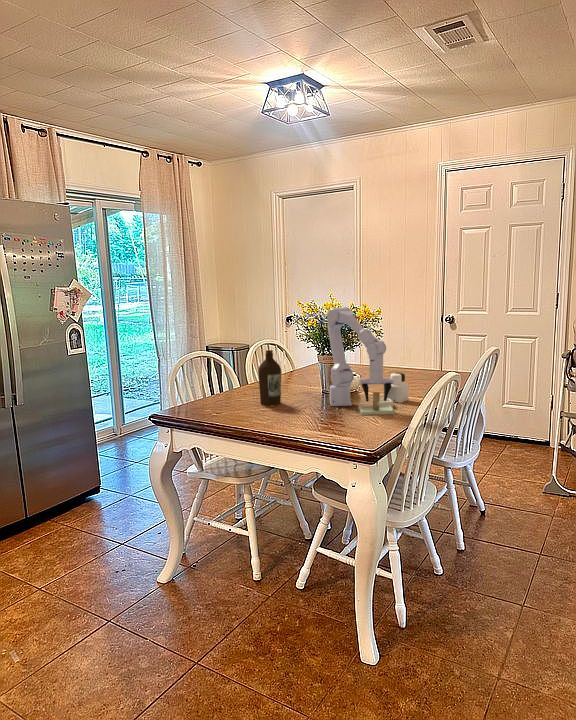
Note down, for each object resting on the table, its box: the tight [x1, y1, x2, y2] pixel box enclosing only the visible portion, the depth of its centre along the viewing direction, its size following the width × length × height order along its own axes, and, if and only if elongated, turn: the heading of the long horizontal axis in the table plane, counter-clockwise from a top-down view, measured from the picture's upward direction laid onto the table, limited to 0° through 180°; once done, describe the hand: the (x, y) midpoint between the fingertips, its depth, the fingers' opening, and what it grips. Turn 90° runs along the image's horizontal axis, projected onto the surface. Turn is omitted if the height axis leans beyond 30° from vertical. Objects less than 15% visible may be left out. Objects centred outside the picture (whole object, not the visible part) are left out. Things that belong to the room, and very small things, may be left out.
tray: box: [357, 405, 396, 416], centre depth 232 cm, size 14×10×1 cm
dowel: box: [372, 391, 381, 411], centre depth 231 cm, size 3×3×8 cm
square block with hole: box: [379, 398, 394, 409], centre depth 240 cm, size 7×7×3 cm
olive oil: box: [257, 349, 282, 406], centre depth 248 cm, size 11×11×25 cm
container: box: [387, 372, 410, 404], centre depth 250 cm, size 8×8×13 cm
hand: (376, 400), depth 231 cm, fingers open, 7 cm apart
